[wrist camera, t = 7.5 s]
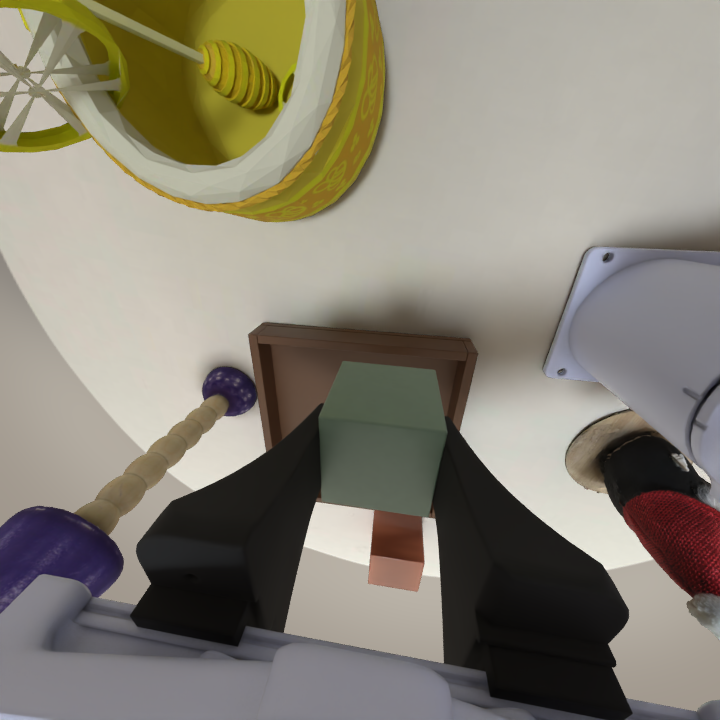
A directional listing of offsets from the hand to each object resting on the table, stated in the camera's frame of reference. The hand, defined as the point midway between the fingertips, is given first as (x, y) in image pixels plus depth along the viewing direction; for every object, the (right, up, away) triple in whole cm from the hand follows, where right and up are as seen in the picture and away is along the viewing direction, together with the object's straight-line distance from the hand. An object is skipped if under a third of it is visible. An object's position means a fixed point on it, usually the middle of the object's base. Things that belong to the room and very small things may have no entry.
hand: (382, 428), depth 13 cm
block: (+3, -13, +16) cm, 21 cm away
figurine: (+19, -4, +9) cm, 21 cm away
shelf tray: (-1, -2, +11) cm, 11 cm away
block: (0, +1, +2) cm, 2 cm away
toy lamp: (-11, +1, +11) cm, 16 cm away
